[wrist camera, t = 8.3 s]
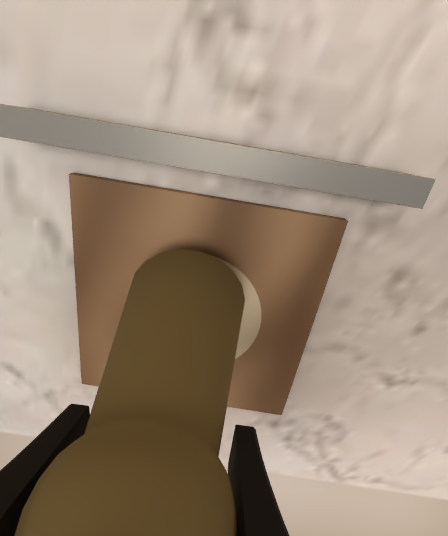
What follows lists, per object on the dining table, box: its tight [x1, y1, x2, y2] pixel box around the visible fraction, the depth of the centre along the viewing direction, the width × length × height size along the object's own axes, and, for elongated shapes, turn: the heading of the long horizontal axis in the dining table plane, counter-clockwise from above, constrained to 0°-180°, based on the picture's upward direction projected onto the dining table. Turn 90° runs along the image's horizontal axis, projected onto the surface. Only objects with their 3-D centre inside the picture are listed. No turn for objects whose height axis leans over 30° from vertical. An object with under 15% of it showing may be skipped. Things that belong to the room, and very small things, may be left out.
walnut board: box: [69, 173, 348, 415], centre depth 17 cm, size 14×14×1 cm
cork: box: [15, 249, 245, 536], centre depth 10 cm, size 6×6×11 cm
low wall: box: [0, 104, 435, 209], centre depth 13 cm, size 18×1×2 cm, turn 81°
